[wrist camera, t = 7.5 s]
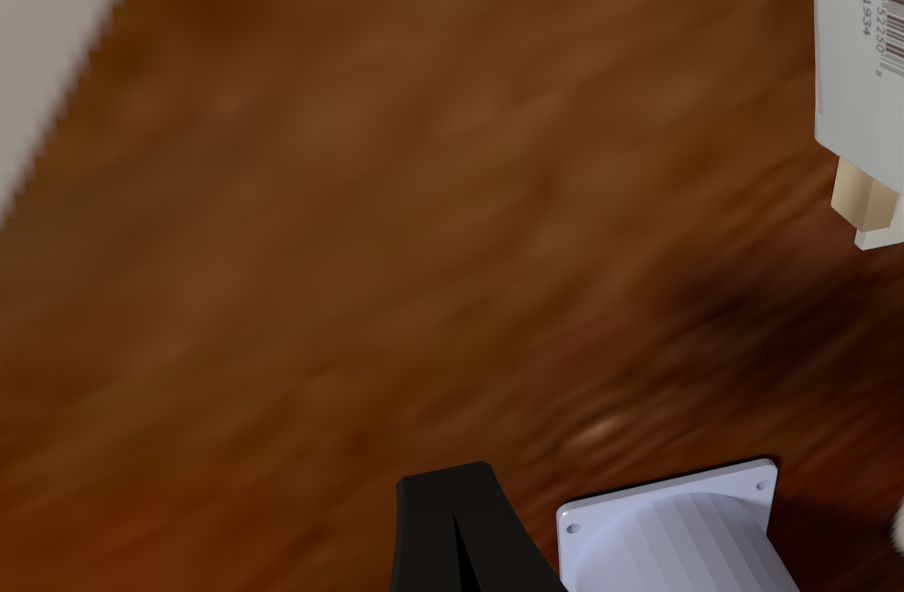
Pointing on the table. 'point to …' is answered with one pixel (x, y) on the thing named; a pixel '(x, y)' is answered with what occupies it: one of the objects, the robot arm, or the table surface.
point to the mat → (885, 230)
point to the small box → (862, 85)
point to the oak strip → (862, 198)
